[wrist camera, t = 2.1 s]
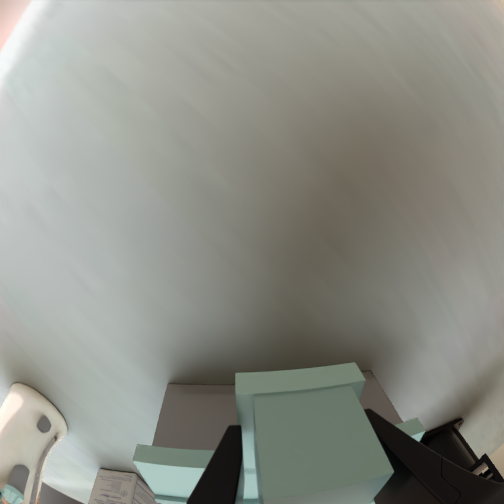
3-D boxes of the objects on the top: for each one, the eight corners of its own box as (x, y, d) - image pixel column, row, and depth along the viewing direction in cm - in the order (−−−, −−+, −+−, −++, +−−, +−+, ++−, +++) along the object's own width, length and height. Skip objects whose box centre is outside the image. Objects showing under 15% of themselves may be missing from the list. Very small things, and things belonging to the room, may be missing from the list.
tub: (370, 370, 15) (405, 426, 10) (338, 462, 18) (353, 506, 13) (167, 383, 14) (150, 451, 9) (194, 473, 17) (191, 521, 12)
